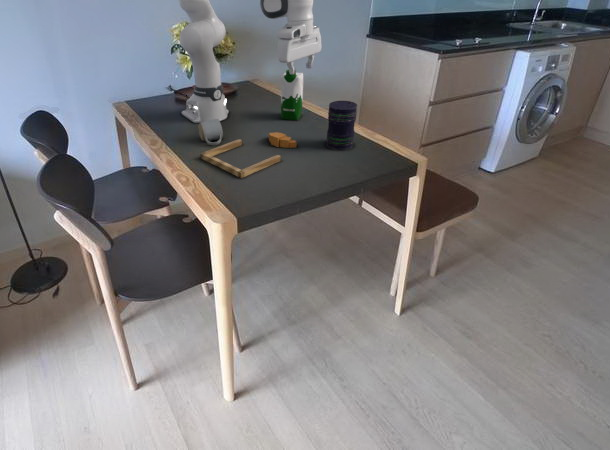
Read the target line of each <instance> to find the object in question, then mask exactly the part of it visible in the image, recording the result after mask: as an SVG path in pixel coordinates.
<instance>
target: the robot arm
mask: <svg viewBox="0 0 610 450" xmlns="http://www.w3.org/2000/svg"><path fill="white" fill-rule="evenodd" d="M178 3H179V6H180V8H181V10H183V11H184V12H185V13H186V14H187V16H188V17H189V20H190V21H191V22H190V23H188V24H187V25H185V26H184V27H183V29H182V30H181V31H180V33H179V43H180V45H181V47H182V49H183V50H184V51H185V52H186V53H187V55H188V57H189V59H190V62H191V65H192V70H193V79H194V85H193V86H192V89H193V93H192V95H190V98H189V97H188V98H187V99H186V102H185V108H186V109H183V110H182V111H181V115H182V116H183V117H185V118H186V119H187V120H189V121H191V122H192V123H195V124H200V123H202V122H205V121H209V120H214V119H219V121H220V122H221V121H224V120H226V119H227V118H228V114H229V111H230V110H229V109H227V101H228V100H227V99H226V98H225V97H226V96H225V94H224V87H223V83H222V75H221V74H222V73H221V65H220V63H219V62H218V61H217V59H216V57H215V54H214V48H215V47H217V46H219V45H220V44H221V43H222V42H223V40H224V39H225V38H226V33H227V32H226V26H225V24H224V22H222V20H220V19H219V17H218V16H217V13H216V11H215V10H214V8H213V6H212V4H211V2H210V0H178ZM259 5H260V10H261V12H262V14H263V15H264V17H266V18H268V19H270V20H271V19H272V20H277V19H280V18H284V17H286V24H285V25H284V26H283V27H281V28H280V29H279V30H278V31H277V32H276V33H277V34H276V35H277V38H278V42H277V59H278V61H279V62H280V63H281V64H286V66H287V68H288V70H289V73H290V74H295V73H297V69H296V68H295V66H294V64H295V61H298V60H302V59H304V58H307V62H306V63H305V68H306V69H312V68H313V62H314V60H315V55H316V54H319V53H321V51H322V48H323V45H322V34H321V32H320V27H319V26H318V24H314V14H313V7H314V0H259ZM168 86H169V87H168V88H169V89H170V90H171V91H173V92H176V93H178V92H177V91H178V90H177V89H174V88H172V85H171V84H169V85H168Z"/></svg>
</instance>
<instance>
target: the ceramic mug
mask: <svg viewBox="0 0 610 450" xmlns="http://www.w3.org/2000/svg"><path fill="white" fill-rule="evenodd" d="M197 127H198V134H199V137H200V139H201V141H202V142H206V143H207V145H209V146H218V145H220V143H222V139H223V138H224V137H223V136H224V134H223V133H224V132H223V127H222V124H221V121H219V119H214V120H209V121H205V122H200V123H198V126H197ZM212 141H214V142H212Z"/></svg>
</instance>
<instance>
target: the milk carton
mask: <svg viewBox="0 0 610 450" xmlns="http://www.w3.org/2000/svg"><path fill="white" fill-rule="evenodd" d="M303 98H304V72H296V73H295V74H290V73H289V69H286V70H285V72H284V73H283V74H282V75H281V76H280V115H281V120H286V121H288V120H291V121H298V120H299V119H300V117H301V116H302V112H303V101H304V100H303Z"/></svg>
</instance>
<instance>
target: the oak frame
mask: <svg viewBox="0 0 610 450" xmlns="http://www.w3.org/2000/svg"><path fill="white" fill-rule="evenodd" d="M242 140H243V139H240V138H238V139H235V140H233V141H231V142H228V143H224V144H222V145H219V146H217V147H214V148H211V149H208V150H206V151H202V152H201V153H200V159H201V160H203V161H205V162H207V163H210V164H211V165H214V166H216V167H218V168H219V169H222V170H224V171H225V172H227V173H229V174H231V175H234V176H236V177H237V178H240V179H243V178H245V177H247V176H250V175H252V174H254V173H256V172H259V171H262V170H263V169H266V168H269V167H270V166H273V165H275V164H277V163H279V162H281V161H282V160H281V156H282V155H279V154H275V155H273V156H271V157H269V158H266V159H264V160H261V161H259V162H256V163H255V164H252V165H249V166H247V167H244V168H242V169H240V168H239V167H236V166H234V165H232V164H229V163H228V162H226V161H224V160H222V159H220V158H217V157H215V156H217V155H220V154H223V153H224V152H228V151H230V150H232V149H235V148H238V147H241V146H243V141H242Z"/></svg>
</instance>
